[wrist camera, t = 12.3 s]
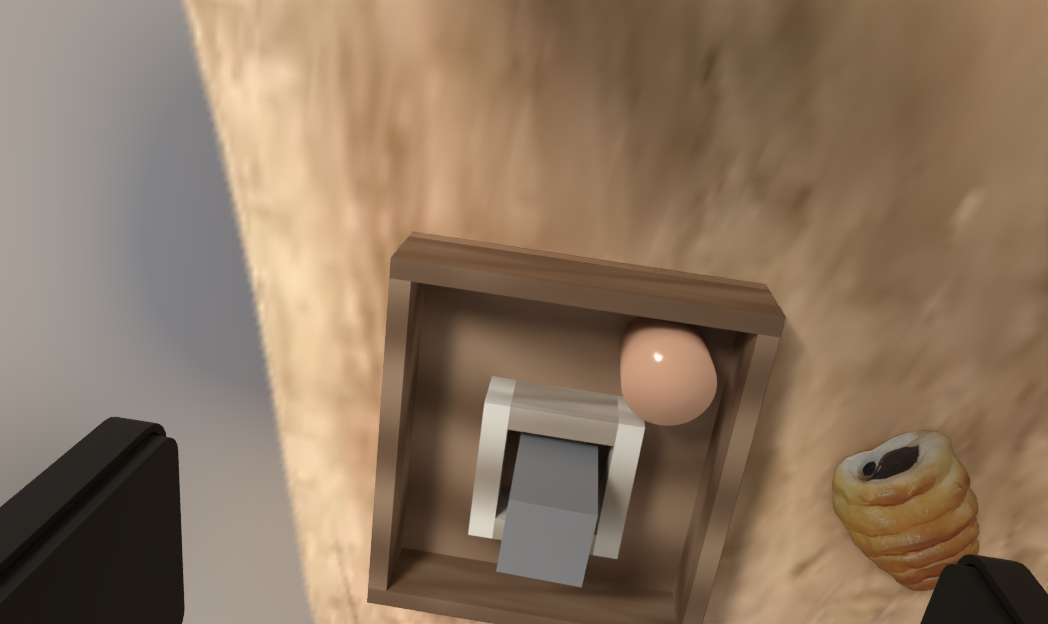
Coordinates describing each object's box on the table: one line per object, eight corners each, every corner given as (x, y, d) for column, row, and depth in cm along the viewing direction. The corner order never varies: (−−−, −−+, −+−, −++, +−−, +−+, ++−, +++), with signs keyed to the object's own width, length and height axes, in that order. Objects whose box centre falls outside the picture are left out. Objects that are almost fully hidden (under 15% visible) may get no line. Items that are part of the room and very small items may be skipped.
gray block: (524, 413, 42) (508, 499, 35) (598, 426, 42) (598, 516, 35) (513, 475, 44) (496, 571, 36) (584, 488, 43) (581, 587, 36)
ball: (627, 303, 39) (630, 333, 36) (714, 316, 39) (726, 348, 35) (612, 380, 41) (613, 417, 37) (696, 394, 41) (705, 432, 37)
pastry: (993, 546, 44) (1027, 594, 40) (874, 587, 45) (897, 636, 42) (934, 413, 41) (965, 451, 38) (811, 462, 43) (829, 503, 39)
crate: (412, 231, 40) (390, 257, 36) (765, 284, 39) (785, 317, 35) (387, 549, 47) (367, 602, 43) (684, 599, 47) (693, 657, 42)
